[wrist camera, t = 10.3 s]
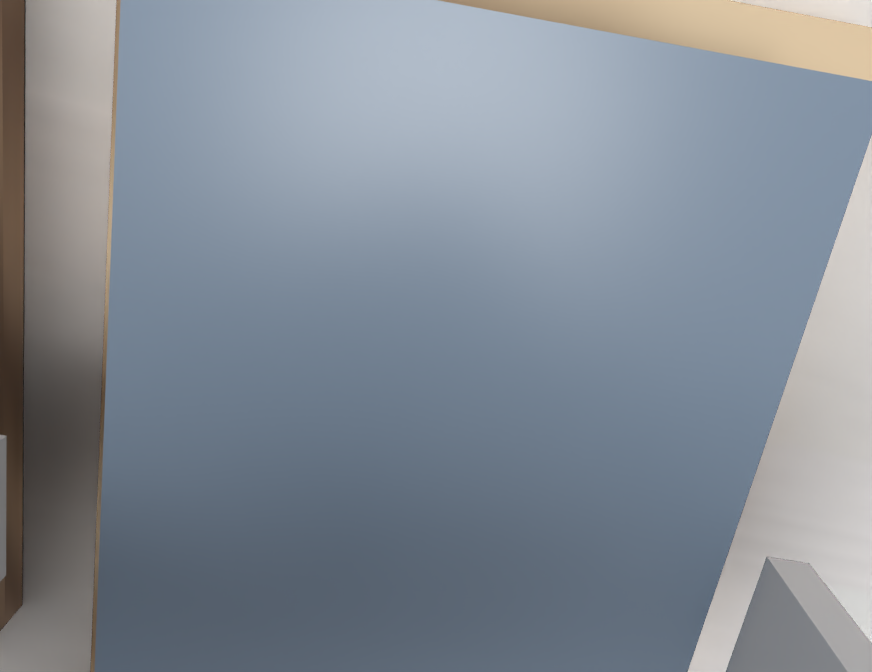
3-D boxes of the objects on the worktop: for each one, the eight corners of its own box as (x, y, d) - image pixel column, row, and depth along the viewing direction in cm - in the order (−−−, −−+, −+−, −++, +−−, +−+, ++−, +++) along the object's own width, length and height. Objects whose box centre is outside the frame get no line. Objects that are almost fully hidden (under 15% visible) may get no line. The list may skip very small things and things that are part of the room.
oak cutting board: (607, 787, 21) (618, 837, 20) (112, 709, 21) (87, 754, 20) (851, 36, 15) (892, 31, 14) (153, -96, 15) (121, -115, 13)
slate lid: (563, 788, 19) (588, 958, 16) (159, 725, 19) (86, 882, 15) (772, 85, 14) (889, 83, 10) (215, -19, 14) (123, -59, 10)
